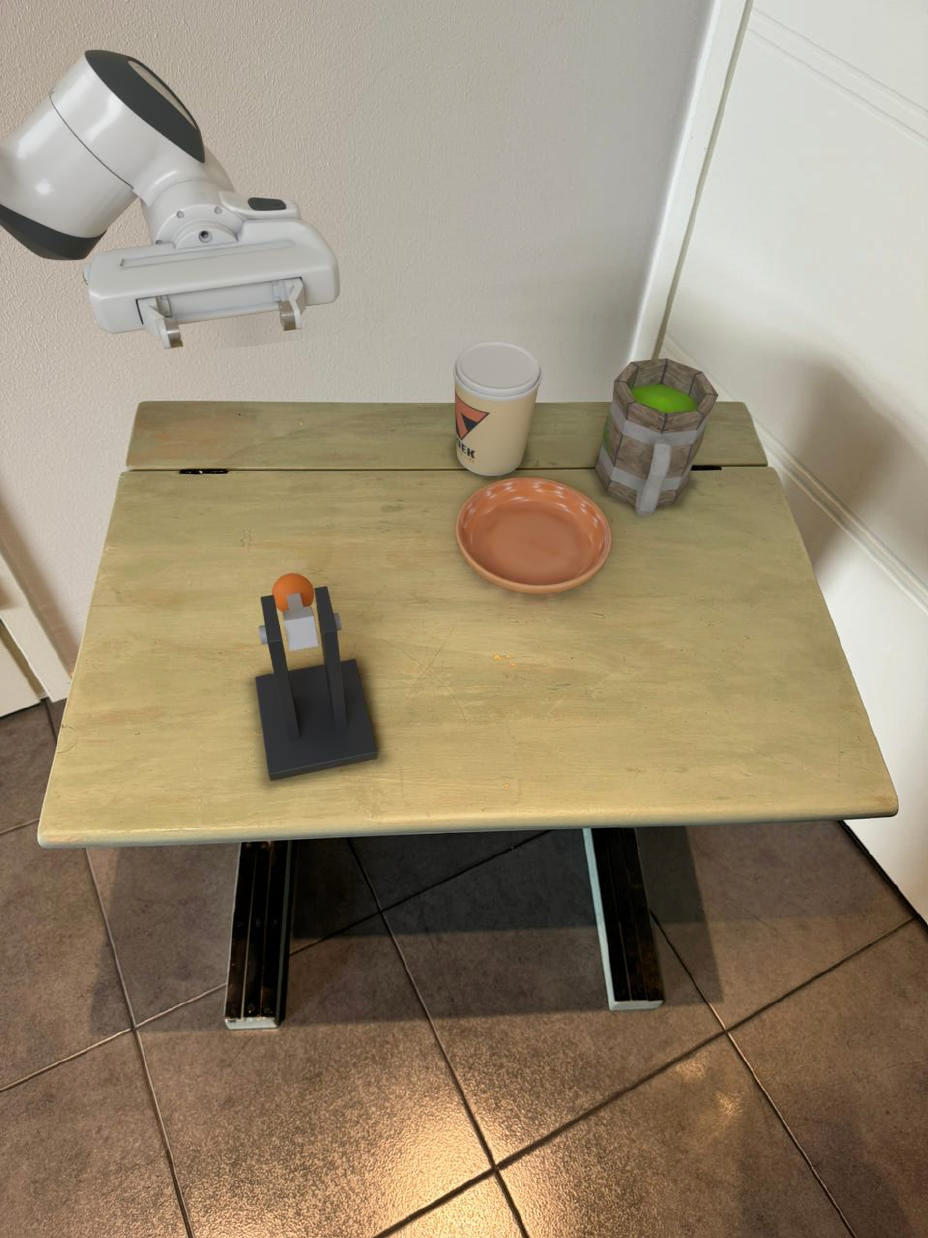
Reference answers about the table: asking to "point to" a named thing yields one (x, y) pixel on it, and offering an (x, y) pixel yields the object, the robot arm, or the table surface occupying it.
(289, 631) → the lever
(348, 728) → the switch base
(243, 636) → the table surface
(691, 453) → the mug
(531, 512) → the saucer
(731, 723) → the table surface
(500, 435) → the coffee cup
